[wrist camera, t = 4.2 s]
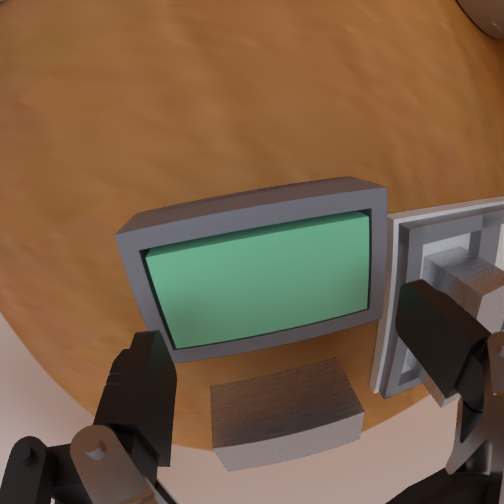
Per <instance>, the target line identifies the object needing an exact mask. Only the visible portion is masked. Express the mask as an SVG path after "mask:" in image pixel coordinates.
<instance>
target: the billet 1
mask: <svg viewBox="0 0 504 504" xmlns="http://www.w3.org/2000/svg"><path fill="white" fill-rule="evenodd" d="M210 397H211V424H212V445H213V450H214V451H215V453H216V454H217V456H218V458H219V459H220V460H221V462H222V464H223V465H224V466H225V468H226V469H227V471H233V470H241V469H248V468H254V467H259V466H264V465H270V464H275V463H280V462H284V461H289V460H293V459H297V458H301V457H305V456H308V455H312V454H316V453H319V452H323V451H326V450H329V449H332V448H335V447H338V446H341V445H344V444H347V443H350V442H353V441H356V440H358V439H360V434H361V429H362V424H363V419H364V414H365V411H364V409H363V407H362V405H361V403H360V401H359V399H358V398H357V396H356V394H355V392H354V390H353V388H352V386H351V384H350V383H349V381H348V379H347V377H346V375H345V373H344V371H343V370H342V368H341V366H340V364H339V362H338V360H337V359H336V357H334V358H331V359H328V360H324V361H321V362H317V363H314V364H310V365H307V366H303V367H299V368H295V369H291V370H287V371H283V372H279V373H275V374H271V375H266V376H262V377H257V378H252V379H248V380H243V381H237V382H232V383H227V384H221V385H215V386H210Z"/></svg>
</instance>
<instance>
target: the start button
mask: <svg viewBox="0 0 504 504" xmlns="http://www.w3.org/2000/svg"><path fill="white" fill-rule="evenodd" d="M146 261H147V264H148V267H149V271H150V274H151V277H152V280H153V283H154V287H155V290H156V293H157V296H158V299H159V302H160V305H161V307H162V310H163V313H164V316H165V319H166V322H167V324H168V327H169V330H170V333H171V335H172V338H173V340H174V343H175V346H176V348H184V347H191V346H198V345H204V344H210V343H216V342H222V341H228V340H234V339H239V338H245V337H250V336H255V335H260V334H265V333H270V332H275V331H279V330H284V329H288V328H293V327H297V326H302V325H306V324H310V323H314V322H318V321H322V320H326V319H330V318H334V317H338V316H342V315H346V314H349V313H353V312H357V311H360V310H364V309H367V300H368V278H369V216H367V215H365V214H363V213H361V212H359V211H357V210H356V211H350V212H344V213H337V214H331V215H325V216H319V217H313V218H307V219H302V220H296V221H290V222H284V223H278V224H273V225H267V226H262V227H256V228H251V229H245V230H240V231H234V232H229V233H224V234H218V235H213V236H208V237H203V238H197V239H192V240H187V241H182V242H177V243H172V244H167V245H162V246H157V247H152V248H151V249H150V250H149V252H148V254H147V256H146Z"/></svg>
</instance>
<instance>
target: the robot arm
mask: <svg viewBox="0 0 504 504" xmlns="http://www.w3.org/2000/svg"><path fill="white" fill-rule="evenodd" d="M457 1H458V3H459V4H460V5H461V7H462V8H463V9H464V11H465V12H466V13H467V15H468V16H469V17H470V18H471V19H472V21H473V22H474V23H475V24H476V25H477V26H478V27H479V28H480V29H481V30H483V31H484V32H485V33H486V34H488V35H489V36H491V37H494V38H504V0H457ZM395 327H396V331H397V334H398V336H399V337H400V339H401V340H402V341H403V342H404V344H405V345H406V346H407V347H408V349H409V350H410V351H411V353H412V354H413V355H414V356H415V358H416V359H417V360H418V362H419V363H420V364H421V365H422V367H423V368H424V369H425V371H426V372H427V373H428V375H429V376H430V377H431V379H432V380H433V381H434V383H435V384H436V385H437V387H438V388H439V390H440V391H441V392H442V394H443V395H444V396H445V398H446V399H448V398H449V397H451V396H453V395H455V394H457V393H459V394H460V396H461V397H460V399H459V401H458V410H457V422H456V431H455V440H454V446H453V451H452V453H451V456H450V458H449V460H448V462H447V464H446V467H445V468H443V469H441V470H440V471H438V472H436V473H434V474H433V475H431V476H429V477H427V478H425V479H424V480H421V481H420V482H417V483H415V484H413V485H411V486H409V487H408V488H406V489H405V490H404V491H402V492H401V493H400V494H398V495H397V496H396V497H395V498H393V499H392V500H390V501H389V502H387V503H386V504H504V332H502V331H500V332H495V333H493V334H492V333H491V332H489V331H488V330H487V329H486V328H485V327H484V326H483V325H482V324H481V323H480V322H479V321H478V320H476V319H475V318H474V317H473V316H472V315H471V314H470V313H469V312H467V311H465V309H464V308H463V307H462V306H461V305H459V304H457V302H456V301H455V300H454V299H452V298H451V297H450V296H449V295H447V294H445V293H443V292H441V291H439V290H436V289H435V288H433V287H432V286H431V285H430V284H429V283H427V282H426V281H425V280H423V279H419V280H415V281H412V282H408V283H404V284H403V285H402V286H401V288H400V293H399V300H398V307H397V313H396V319H395ZM176 386H177V375H176V369H175V366H174V363H173V361H172V358H171V356H170V353H169V351H168V348H167V346H166V343H165V341H164V338H163V336H162V334H161V332H160V331H159V330H154V331H145V332H136V333H135V335H134V338H133V340H132V343H131V346H130V349H123V350H122V352H121V353H120V354H119V355H118V356H117V357H116V359H115V360H114V362H113V364H112V367H111V370H110V375H109V376H108V379H107V382H106V386H105V388H104V391H103V394H102V397H101V400H100V403H99V406H98V409H97V412H96V416H95V419H94V423H93V425H91V426H87V427H85V428H83V429H82V430H80V431H79V432H78V433H77V434H76V435H75V436H74V438H73V439H72V442H71V443H70V444H65V445H59V446H53V447H47V446H46V445H45V444H44V443H43V442H42V441H41V440H40V439H38V438H36V437H33V436H27V437H24V438H22V439H20V440H19V441H18V442H16V443H15V445H14V446H13V448H12V450H11V453H10V456H9V459H8V462H7V466H6V469H5V473H4V477H3V480H2V484H1V488H0V504H50V503H51V498H53V499H54V500H55V504H179V503H178V502H177V501H176V500H175V499H174V498H173V497H172V495H171V494H170V493H169V492H168V490H167V489H166V488H165V487H164V486H163V484H162V483H161V482H160V481H159V479H158V478H157V467H158V466H160V467H163V466H164V467H170V458H171V443H172V429H173V417H174V406H175V396H176Z"/></svg>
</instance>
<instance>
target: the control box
mask: <svg viewBox="0 0 504 504" xmlns="http://www.w3.org/2000/svg"><path fill="white" fill-rule="evenodd" d="M356 210H357V211H359V212H361V213H363V214H365V215H367V216H369V278H368V300H367V309H364V310H360V311H357V312H353V313H349V314H346V315H342V316H338V317H334V318H330V319H326V320H322V321H318V322H314V323H310V324H306V325H302V326H297V327H293V328H288V329H284V330H279V331H275V332H270V333H265V334H260V335H255V336H250V337H245V338H239V339H234V340H228V341H222V342H216V343H210V344H204V345H198V346H191V347H184V348H176V346H175V343H174V340H173V338H172V335H171V333H170V330H169V327H168V324H167V322H166V319H165V316H164V313H163V310H162V307H161V305H160V302H159V299H158V296H157V293H156V290H155V287H154V283H153V280H152V277H151V274H150V271H149V267H148V264H147V261H146V256H147V254H148V252H149V250H150V249H151V248H152V247H157V246H162V245H167V244H172V243H177V242H182V241H187V240H192V239H197V238H203V237H208V236H213V235H218V234H224V233H229V232H234V231H240V230H245V229H251V228H256V227H262V226H267V225H273V224H278V223H284V222H290V221H296V220H302V219H307V218H313V217H319V216H325V215H331V214H337V213H344V212H350V211H356ZM115 238H116V241H117V245H118V248H119V251H120V255H121V258H122V261H123V264H124V267H125V270H126V273H127V276H128V279H129V282H130V285H131V288H132V291H133V293H134V296H135V299H136V302H137V304H138V307H139V309H140V312H141V315H142V317H143V320H144V322H145V325H146V327H147V330H148V331H154V330H159V331H160V332H161V334H162V336H163V338H164V341H165V343H166V346H167V348H168V351H169V353H170V356H171V358H172V361H173V363H182V362H189V361H197V360H203V359H210V358H216V357H222V356H228V355H234V354H240V353H245V352H250V351H256V350H261V349H266V348H270V347H275V346H280V345H284V344H289V343H293V342H298V341H302V340H306V339H310V338H314V337H318V336H322V335H326V334H330V333H333V332H337V331H341V330H344V329H348V328H352V327H355V326H358V325H362V324H365V323H369V322H372V321H375V320H378V319H381V318H382V312H383V302H384V291H385V277H386V258H387V187H384V186H381V185H378V184H375V183H371V182H368V181H364V180H361V179H358V178H354V177H341V178H333V179H325V180H317V181H310V182H302V183H295V184H289V185H282V186H275V187H269V188H263V189H257V190H251V191H245V192H239V193H234V194H228V195H223V196H217V197H212V198H207V199H202V200H197V201H192V202H187V203H182V204H177V205H172V206H168V207H163V208H159V209H154V210H150V211H145V212H141V213H137V214H136V215H135V216H134V217H133V218H132V219H131V220H130V221H128V222H127V223H126V224H125V225H124V226H123V227H122V228H121V229H120V230H119V231H118V232H117V233H116V234H115Z"/></svg>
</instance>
